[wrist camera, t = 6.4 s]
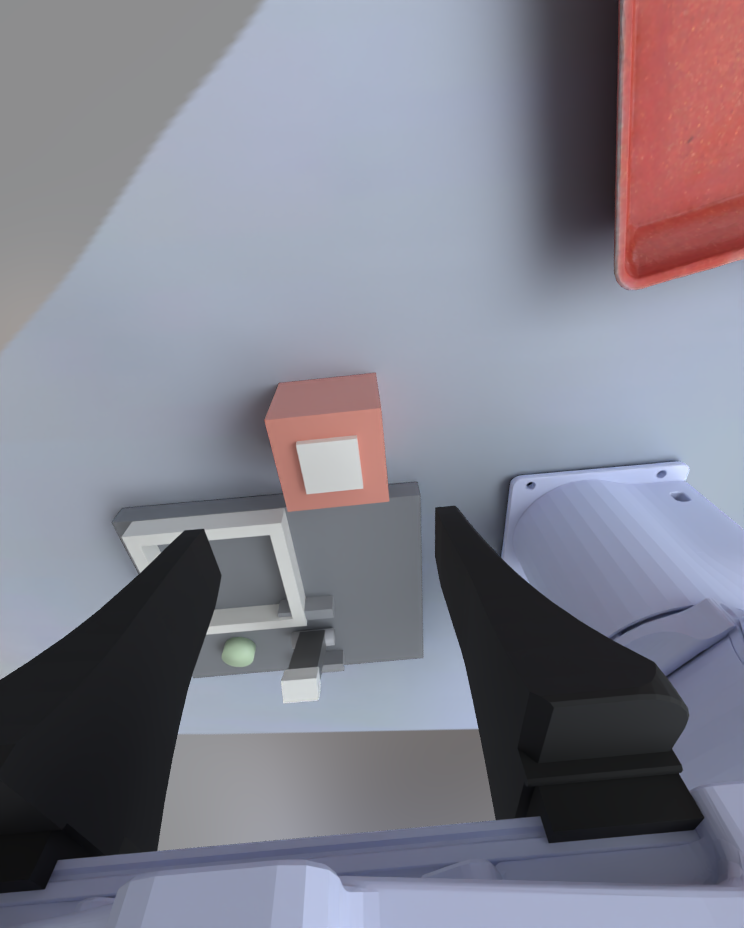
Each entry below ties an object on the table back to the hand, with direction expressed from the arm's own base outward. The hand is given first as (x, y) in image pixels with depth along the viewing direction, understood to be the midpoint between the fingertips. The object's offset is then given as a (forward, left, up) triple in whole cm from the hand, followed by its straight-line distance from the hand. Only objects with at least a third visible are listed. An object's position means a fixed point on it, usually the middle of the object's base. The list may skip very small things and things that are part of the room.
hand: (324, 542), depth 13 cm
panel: (+4, +11, -9) cm, 14 cm away
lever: (+3, +14, -7) cm, 16 cm away
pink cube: (0, 0, -9) cm, 9 cm away
